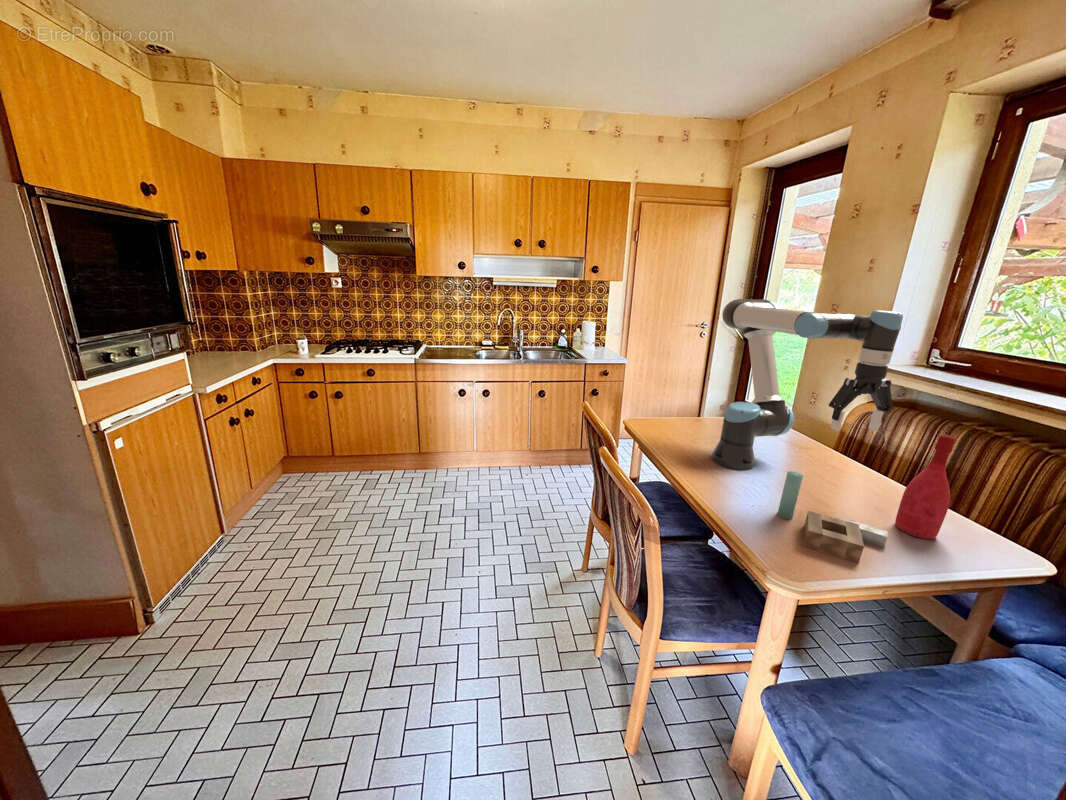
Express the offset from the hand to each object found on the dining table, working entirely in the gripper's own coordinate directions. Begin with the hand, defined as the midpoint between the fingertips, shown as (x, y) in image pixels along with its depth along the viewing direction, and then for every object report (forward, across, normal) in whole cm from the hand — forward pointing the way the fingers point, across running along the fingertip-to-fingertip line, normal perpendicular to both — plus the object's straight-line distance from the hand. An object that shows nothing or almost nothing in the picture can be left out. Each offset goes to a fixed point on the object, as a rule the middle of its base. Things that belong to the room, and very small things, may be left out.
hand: (853, 429), depth 134 cm
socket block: (+25, -21, -22) cm, 39 cm away
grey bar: (+25, -10, -20) cm, 34 cm away
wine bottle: (+25, +10, -18) cm, 32 cm away
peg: (+25, -24, -8) cm, 36 cm away
